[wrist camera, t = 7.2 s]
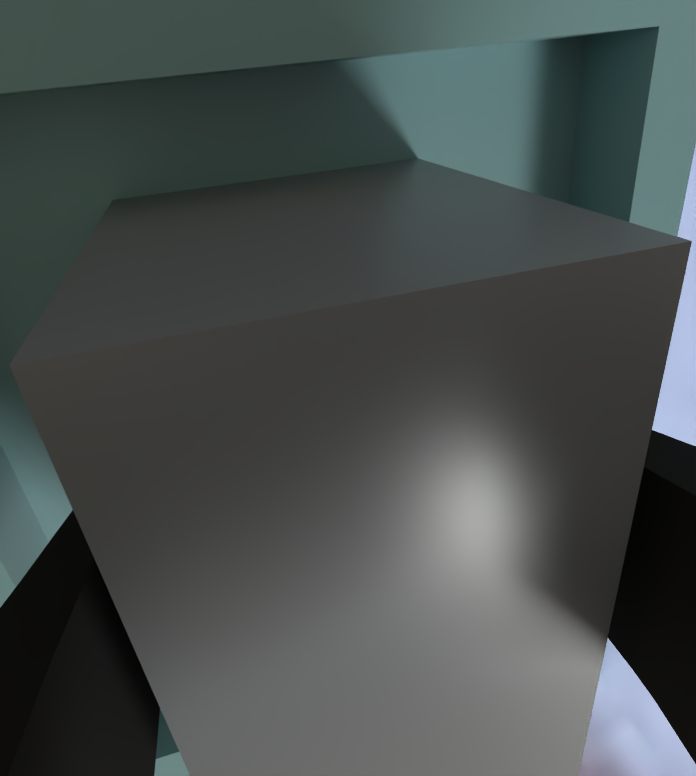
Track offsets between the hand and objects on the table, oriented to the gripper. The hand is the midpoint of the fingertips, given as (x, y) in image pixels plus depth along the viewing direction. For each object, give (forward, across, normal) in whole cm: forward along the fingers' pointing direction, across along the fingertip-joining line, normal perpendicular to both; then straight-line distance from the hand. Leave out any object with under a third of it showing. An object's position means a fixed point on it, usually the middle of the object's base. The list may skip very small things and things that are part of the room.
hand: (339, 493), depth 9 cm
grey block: (+3, 0, 0) cm, 3 cm away
